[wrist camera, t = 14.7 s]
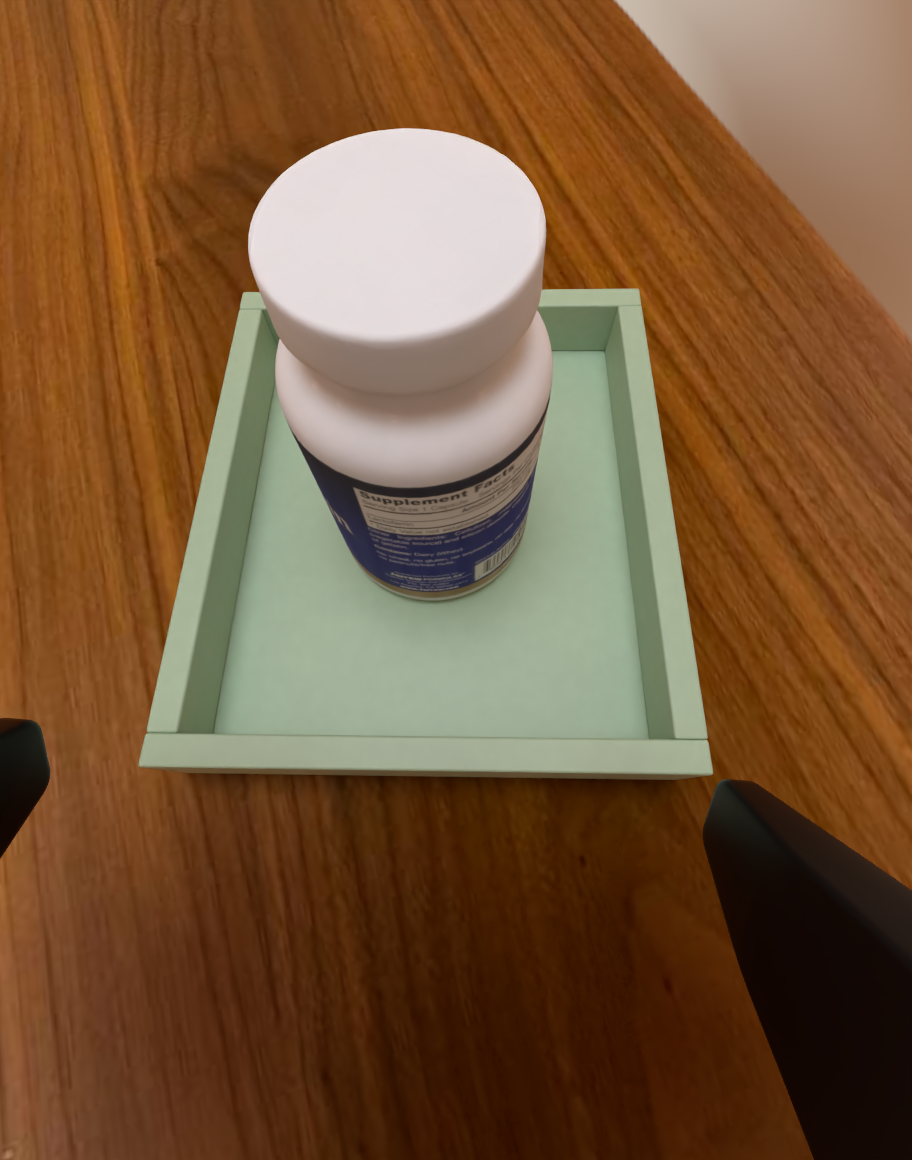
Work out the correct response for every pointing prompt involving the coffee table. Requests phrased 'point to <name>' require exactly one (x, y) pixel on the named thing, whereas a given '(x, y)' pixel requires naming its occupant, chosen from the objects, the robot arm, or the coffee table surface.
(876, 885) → the robot arm
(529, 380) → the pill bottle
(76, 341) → the coffee table surface
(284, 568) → the tray
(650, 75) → the coffee table surface
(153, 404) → the coffee table surface
